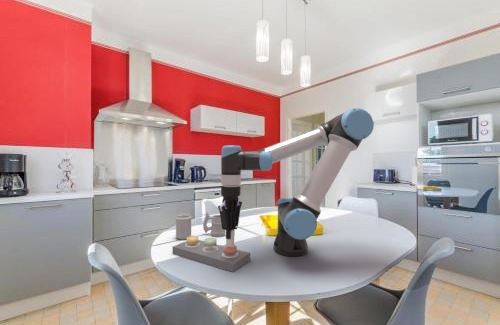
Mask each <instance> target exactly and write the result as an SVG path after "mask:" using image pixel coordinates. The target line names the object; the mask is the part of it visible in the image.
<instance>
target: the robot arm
mask: <svg viewBox="0 0 500 325" xmlns="http://www.w3.org/2000/svg"><path fill="white" fill-rule="evenodd" d="M373 119H374V118H373V117H372V115H371V114H370V113H369V112H368V111H367V110H365V109H363V108H360V107H359V108H358V107H356V108H351V109H347V110H346V111H345V112H343V113H341V114H339V115H336V116H334V117H333V118H332V119H330V120H328V121H326V122H325V123H322V124H320V125H318V126H317V128H315V129H313V130H310V131H308V132H304V133H301V134H300V135H297V136H294V137H292V138H289V139H288V138H287V139H286V140H283V141H280V142H278V143H275V144H272V145H270V146H268V147H265V148H262V149H259V150H249V151H248V150H247V151H245V150H242V147H241V146H240V145H231V144H230V145H223V146H222V148H221V157H220V160H221V162H220V163H221V165H220V166H221V168H220V170H221V171H220V172H221V177H220V178H221V180H220V181H221V182H220V184H221V187H220V196H222V202H221V203H222V204H221V205H218V206H217V209H218V212H219V215H220V218H221V225H222V229H224V230H225V241H226V242H225V243H226V245H225V246H227V247H231V248H232V247H234V245H235V230H237V229H238V227H239V222H240V214H241V207H242V204H243V202H242V201H241V200H240V199H239V197H240V196H241V184H242V176H241V175H242V174H241V172H242V171H255V172H257V171H258V172H259V171H262V172H266V171H271V170H272V168H273V164H274V163H278V162H281V161H283V160H286V159H289V158H292V157H294V156H298V155H300V154H302V153H304V152H308V151H310V150H312V149H315V148H318V147H321V146H324V147H326V148H325V149H324V151H323V153H322V154H321V155H320V158H319V159H318V162H317V163H316V165H315V167H314V168H313V169H312V172H311V174H310V175H309V178H307V180H306V182H305V184H304V186H303V188H302V189H301V191H300V193H298V194H297V195H293V197H292V198H291V197H285V198H284V197H282V198H279V199H278V200H277V231H276V232H277V233H276V235H275V238H274V241H273V251H274V252H275V253H277V254H279V255H282V256H285V257H286V256H287V257H301V256H305V255H307V254H308V252H309V250H308V249H309V245H308V241H307V239H309V238H310V237H312V236H313V235H314V234H315V232H316V231H317V228H318V220H317V219H318V218H319V217H320V215H321V212H322V211H321V208H320V207H321V205H322V203H323V201H324V199H325V198H326V196H327V193H328V192H329V190H330V189H331V187H332V185H333V183H334V182H335V180H336V178H337V176H338V174H339V173H340V171H341V170H342V168H343V166H344V164H345V162H346V160H347V159H348V157H349V155H350V153H351V152H353V151H357V149H358V148H359V147H360V145H361V142H362V141H363V140H366V139H367V138H368V137H370V135H371V134H372V133H373V130H374V126H375V125H374V123H375V122H374V120H373Z"/></svg>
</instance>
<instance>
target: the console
mask: <svg viewBox="0 0 500 325" xmlns="http://www.w3.org/2000/svg"><path fill="white" fill-rule="evenodd" d="M224 246H225V245H221V244H217V245H216V246H213V247H206V246H204V240H200V239H198V243H197V244H192V245H190V244H187V243H186V241H184V242H180V243H179V244H176V245H173V246H172V255H176V256H179V257H183V258H185V259H188V260H192V261H195V262H198V263H202V264H205V265H207V266H212V267H215V268H218V269H222V270H224V271H228V272H230V273H234V272H236V271H237V270H238V269H239V268H241V267H243V266H244V265H246V264H247V263H248V262H250V261H251V252H248V251H246V250H240V249H237V253H236V254H233V255H227V254H224Z"/></svg>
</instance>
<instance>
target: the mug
mask: <svg viewBox="0 0 500 325" xmlns="http://www.w3.org/2000/svg"><path fill="white" fill-rule="evenodd" d="M209 220H211V226H210V227H209V226H207V223H208V221H209ZM202 226H203V227H202V228H203V229H202V230H203V231H204V233H208V232H209V231H210V235H211V237H212V238H221V237H224V236H226V230H224V229H222V225H221V218H220V214H217V215H213V216H210V213H209V212H207V211H206V212H205V218H204V219H203V223H202Z"/></svg>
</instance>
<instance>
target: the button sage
mask: <svg viewBox="0 0 500 325" xmlns="http://www.w3.org/2000/svg"><path fill="white" fill-rule="evenodd" d="M203 241H204V246H206V247H213V246H216V245H218V244H217V237H207V238H204V240H203Z"/></svg>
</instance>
